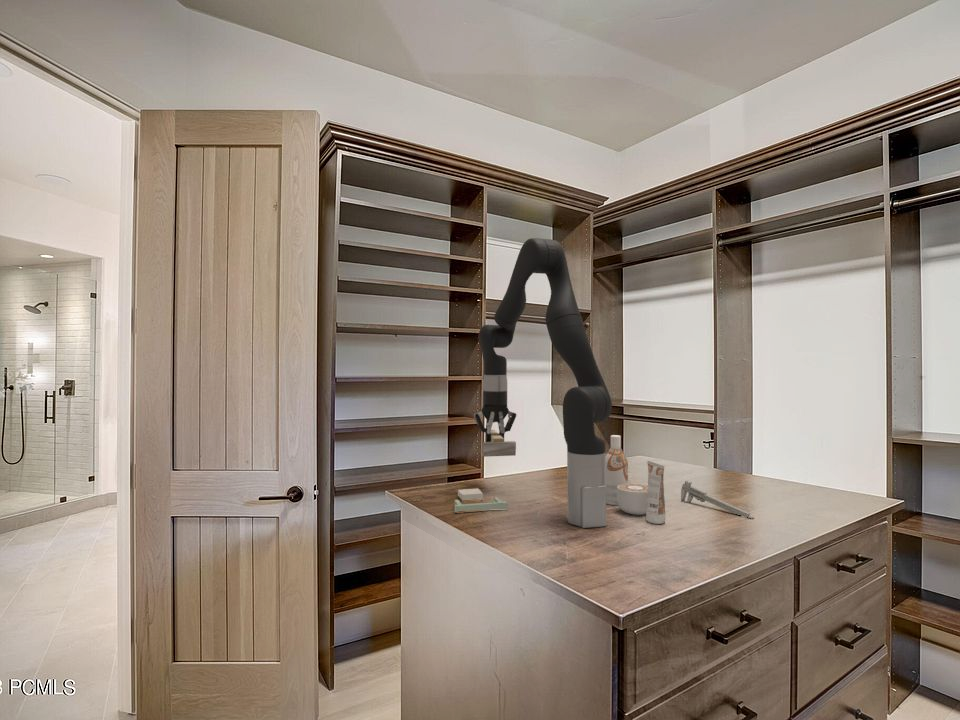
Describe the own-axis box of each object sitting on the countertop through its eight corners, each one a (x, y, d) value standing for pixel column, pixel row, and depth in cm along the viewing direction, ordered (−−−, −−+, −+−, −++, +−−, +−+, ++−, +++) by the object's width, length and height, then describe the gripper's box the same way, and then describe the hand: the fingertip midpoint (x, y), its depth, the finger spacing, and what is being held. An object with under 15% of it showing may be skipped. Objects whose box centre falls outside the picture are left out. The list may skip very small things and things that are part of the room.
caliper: (680, 502, 146) (680, 480, 146) (683, 501, 147) (683, 479, 147) (752, 520, 129) (752, 495, 129) (754, 520, 130) (754, 494, 130)
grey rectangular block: (515, 455, 156) (516, 439, 156) (483, 456, 154) (483, 440, 154) (504, 444, 169) (504, 429, 168) (474, 445, 167) (474, 430, 166)
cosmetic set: (680, 525, 125) (680, 447, 125) (647, 528, 123) (647, 448, 123) (624, 498, 149) (623, 433, 149) (595, 501, 147) (595, 434, 147)
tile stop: (507, 510, 138) (507, 502, 138) (455, 513, 135) (455, 506, 135) (500, 504, 144) (500, 496, 144) (451, 507, 140) (451, 500, 140)
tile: (483, 502, 147) (483, 493, 147) (462, 503, 146) (462, 494, 146) (477, 496, 153) (477, 488, 153) (458, 498, 151) (458, 489, 151)
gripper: (475, 390, 155) (475, 448, 156) (520, 390, 158) (520, 446, 159) (470, 389, 163) (470, 444, 163) (513, 388, 166) (513, 442, 166)
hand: (494, 445), depth 161 cm, fingers closed on grey rectangular block, 3 cm apart
